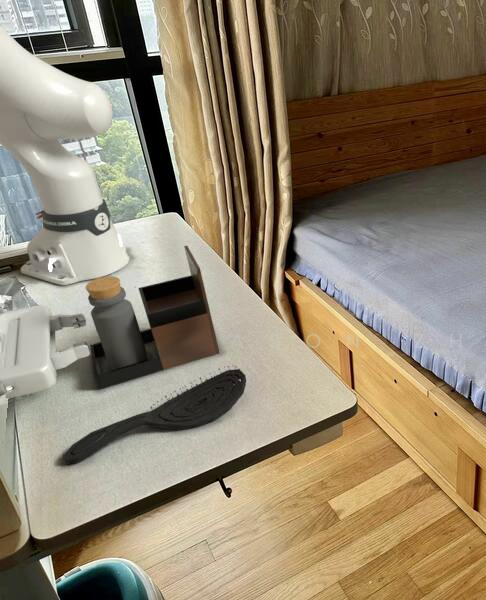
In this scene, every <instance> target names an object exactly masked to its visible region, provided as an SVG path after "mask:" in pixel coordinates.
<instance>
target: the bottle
mask: <svg viewBox="0 0 486 600" xmlns="http://www.w3.org/2000/svg"><path fill="white" fill-rule="evenodd" d="M85 289H86V291H87V292H88V294H89V295H88V296H87V300H88V303H89V304H90V306H93V307H92V310H91V311H90V315H91V319H92V321H93V324H94V327H95V330H96V333H97V336H98V339H99V342H101V344H102V347H103V349H104V352H105V357H106V360H107V363H108V365H109V369H110V371H111V370H114V369H118V368H121V367H124V366H128V365H131V364H135V363H138V362H141V361H145V360H148V359H149V354H148V351H147V347H146V344H144V341H143V338H142V335H141V331H142V330H141V328H140V325H139V322H138V319H137V316H136V313H135V310H134V306H133V304H132V302H131V301H130V300H128V299H126V296H127V292H126V291H125V288H124V287H122V286H121V279H120V278H119V277H118V276H113V275H105V276H102V277H99V278H94V279H91V280H90V281H89V282H88V283H87V284H85Z"/></svg>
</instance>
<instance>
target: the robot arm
mask: <svg viewBox="0 0 486 600" xmlns="http://www.w3.org/2000/svg"><path fill="white" fill-rule="evenodd" d="M113 118H114V110H113V106H112V103H111V100H110V98H109V96H108V95H107V93H106V92H105V91H104V90H103V89H102V87H100V86H99V85H98V84H96V83H94V82H92V81H87V80H84V79H81V78H78V77H76V76H74V75H71V74H69V73H66V72H64V71H62V70H60V69H58V68H56V67H55V66H52V65H51V64H49V63H47V62H46V61H44V60H42V59H41V58H39V57H37V56H35V55H34V54H33V53H31V52H30V51H28V50H27V49H26V48H24V47H23V46H22V45H21V44H20V43H18V41H16V39H15V38H13V36H11V35H10V34H9V32H7V31H6V30H5V29H4V27H2V26H1V25H0V145H1V146H2V147H3V148H4V149H6V150H7V151H8V152H9V153H10V154H11V155H12V156H13V157H14V158H15V159H16V160H17V161H18V162H19V163H20V165H21V166H22V167H23V169H24V170H25V171H26V173H27V174H28V176H29V178H30V180H31V182H32V184H33V186H34V188H35V191H36V194H37V196H38V198H39V201H40V203H41V206H42V208H43V210H41V211H39V212H36V213H35V216H37V217H36V219H37V220H38V219H41V218H42V228H41V229H39V231H38V232H37V233H36V234H35V235H34V236H33V237H32V238H31V239H30V240H29V242H28V243H27V247H26V250H27V254H28V258H29V260H28V261H26V262H25V263H24V264H23V265H22V266H21V267H20V273H21V274H23V275H26V276H29V277H33V278H36V279H38V280H39V279H40V280H42V281H46V282H49V283H52V284H56V285H59V286H68V285H71V284H72V285H73V284H76V283H78V282H82V281H89V280H95V279H97V278H101V277H106V276H109V275H111V274H113V273H116V272H117V271H119V270H121V269H123V268H124V267H125V266H127V265H128V263H129V262H130V256H129V254H128V253H127V248H126V245H125V244H123V241H122V238H121V235H120V234H118V232H117V229H116V227H115V225H114V223H113V221H112V219H111V213H110V211H109V206H108V205H107V202H106V200H105V199H104V198H103V196H102V193H101V190H100V186H99V182H98V180H97V176H96V173H95V170H94V168H93V167H92V165H91V163H89V162H88V161H87V160H86V159H84V158H82V157H81V156H78V155H75V154H74V153H72V152H70V151H69V150H68V149H66V148H65V146H64V145H62V143H61V142H60V141H63V140H65V141H66V140H83V139H88V138H93V137H97V136H100V135H104V134H106V133H107V132H108V131H109V129H110V127H111V126H112V123H113ZM86 325H87V319H86V317H85V314H84V313H83V312H79V313H75V314H55V315H54V314H52V311H51V307H49V306H47V305H40V304H39V305H32V306H27V307H21V308H17V309H11V310H8V311H4V312H1V313H0V381H1V382H2V383H3V384H4V385H5V387H6V394H5V395H6V396H5V397H6V399H12V398H17V397H22V396H27V395H32V394H36V393H39V392H43V391H47V390H50V388H52V387H54V386H56V384H57V378H58V377H57V370H61V369H64V368H67V367H68V366H70V365H71V364H73V363H74V362H77V360H79V359H82V358H86V357H89V356H90V355H91V350H90V346H89V344H88V342H87V341H81V342H77V343H73V344H72V347H70V348H67V349H66V350H63V351H61V352H60V351H57V348H56V347H57V346H56V344H57V343H56V342H57V341H56V332H58V331H61V330H63V329H64V328H74V329H80V328H82V327H86Z"/></svg>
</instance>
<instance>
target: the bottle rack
mask: <svg viewBox="0 0 486 600" xmlns="http://www.w3.org/2000/svg"><path fill="white" fill-rule="evenodd" d="M183 247H184V251H185V255H186V260H187V262H188V263H187V264H188V268H189V272H190V275H187V276H182V277H178V278H175V279H174V278H173V279H170V280H165V281H162V282H157V283H154V284H149V285H145V286H142V287H141V286H140V287H138V289H137V290H138V291H139V296H140V298H141V301H142V306H143V308H144V311H145V315H146V318H147V322H148V324H149V328H147V329H142V330H140V331H141V335H142V338H143V341H144V344H145V345H147V344H151V343H154V344H155V347H156V350H157V354H158V356H156V357H152V358H148V360H145V361H141V362H138V363H135V364H131V365H128V366H124V367H121V368H118V369H114V370H111V369H110V370H108V371H105V372H101V371H100V363H99V358H101V357H106V355H105V352H104V349H103V347H102V344H101V341H99V342H95V343H91V344H89V351H90V357H91V358H90V359H91V365H92V366H91V367H92V373H93V379H94V381H95V384H96V386H97V389H98V390H99V391H100V390H102V389H103V390H104V389H106V388H109V387H112V386H117V385H119V384H123V383H127V382H130V381H133V380H136V379H139V378H142V377H146V376H149V375H152V374H155V373H159V372H163V371H165V370H169V369H171V368H172V369H173V368H176V367H178V366H182V365H184V364H188V363H191V362H195V361H198V360H201V359H204V358H207V357H208V358H209V357H211V356H215V355H219V354H220V348H219V344H218V340H217V335H216V331H215V326H214V322H213V319H212V318H213V317H212V314H211V309H210V306H209V301H208V296H207V292H206V288H205V284H204V283H205V282H204V278H203V276H202V275H203V274H202V271H201V267H200V266H199V264H198V262H197V260H196V258H195V257H194V255H193V253H192V251H191V250H190V248H189V246H188V245H183Z"/></svg>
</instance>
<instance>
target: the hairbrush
mask: <svg viewBox="0 0 486 600" xmlns="http://www.w3.org/2000/svg"><path fill="white" fill-rule="evenodd" d="M226 367H227V368H229V365H227V366H226ZM226 367H225V365H224V366H223V368H224V369H226ZM232 367H234V368H233V369H228V370H225V371H221V368H220V367H219V368H218V371H219V374H217V373H216V372H214V373H215V374H216V375H215V374H214V375H213V376H212V375H211V372H208V374H209V375H210V378H207V377H206V376H204V378H205V379H204V381H203V379H202V377H201V376H200V377H199V380H200V383H199V384H198V383H195V386H194V384H193V382H192V381H191V382H189V385H190V386H191V388H189V389H188V388H186V390H183V391H182V390H181V387H179V390H180V392H181V393H180V394H179V393H177V390H174V391H173V393H174V394H176V396H174V397H173V395H172V394H170V395H171V398H170V397H169V398H168V397H167V395H164V398H166V399H165V402H162V404H161V405H158V406H156V407H154V409H153V407H152V406H150V409H151V410H148V411H145V412H141V413H138V414H135V415H132V416H130V417H127V418H125V419H121V420H119V421H116V422H114V423H111V424H108V425H106V426H104V427H101V428H98V429H96V430H94V431H91V432H89V433H87V434H86V435H85V436H83V437H82V438H80V439H79V440H78V441H76V442H74V443H73V444H71V446H70V447H69V448H68V449H67V450H66V451H65V452H64V453H63V455H62V461H63V462H64V464H65V465H71V464H75V463H78V462H79V463H80V462H81V461H83V460H84V459H86V458H88V457H90V456H91V455H93V454H95V453H96V452H98V451H100V450H101V449H102V448H104V447H106V446H107V445H108V444H110V443H111V442H114V441H115V440H116V439H117V438H119V437H122V436H123V435H125V434H128V433H131V432H132V431H135V430H137V429H140V428H141V427H144V426H145V427H153V428H161V429H168V430H169V429H171V430H178V431H180V430H186V429H187V430H188V429H194V428H195V429H196V428H199V427H202V426H204V425H207V424H210V423H212V422H215V421H216V420H218V419H219V418H220V417H222V416H223V415H225V414H226V413H228V412H230V411H231V410H232V408H233V407H234V406H235V405H236V404H237V402H238V401H239V400H240V398H241V397H242V396H243V395H244V393H245V388H246V385H247V378H246V374H245V373H244V371H242V370H241V368H238V366H237V365H234V364H232ZM193 381H194V382H196V379H194V380H193ZM185 387H187V385H184V387H183V386H182V389H183V388H185ZM160 400H163V398H162V397H161V398H160ZM166 400H167V401H166ZM156 403H159V401H158V400H157V401H156ZM153 406H155V404H154V403H153Z"/></svg>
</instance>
